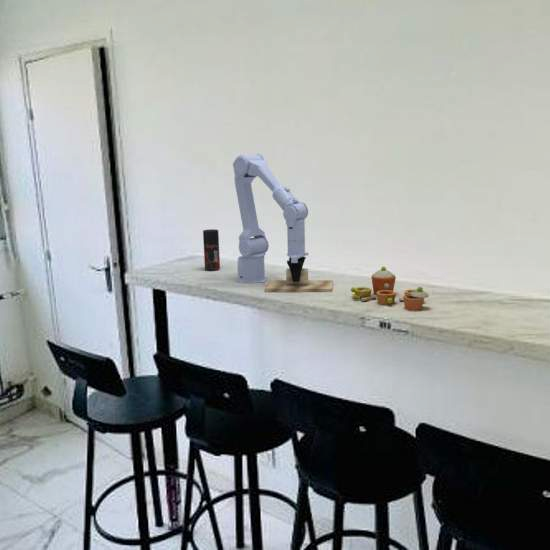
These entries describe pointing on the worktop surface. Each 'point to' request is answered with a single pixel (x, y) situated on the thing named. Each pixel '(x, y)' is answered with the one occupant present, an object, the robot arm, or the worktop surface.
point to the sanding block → (303, 278)
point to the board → (311, 287)
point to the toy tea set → (389, 291)
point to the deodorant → (211, 249)
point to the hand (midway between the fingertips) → (296, 280)
